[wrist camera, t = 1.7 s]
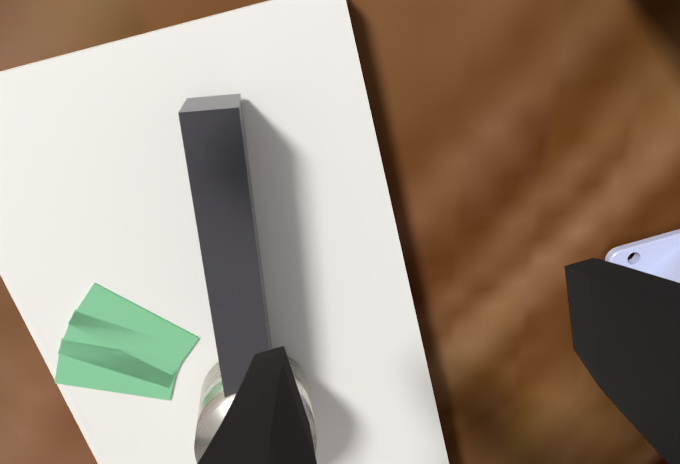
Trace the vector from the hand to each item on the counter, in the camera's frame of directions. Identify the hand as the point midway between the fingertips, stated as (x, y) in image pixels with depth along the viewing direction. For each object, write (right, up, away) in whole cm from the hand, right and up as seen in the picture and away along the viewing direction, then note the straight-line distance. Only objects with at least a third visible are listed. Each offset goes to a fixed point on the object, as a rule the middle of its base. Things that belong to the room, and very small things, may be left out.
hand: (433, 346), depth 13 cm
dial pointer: (-5, +1, +8) cm, 10 cm away
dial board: (-5, -3, +12) cm, 13 cm away
